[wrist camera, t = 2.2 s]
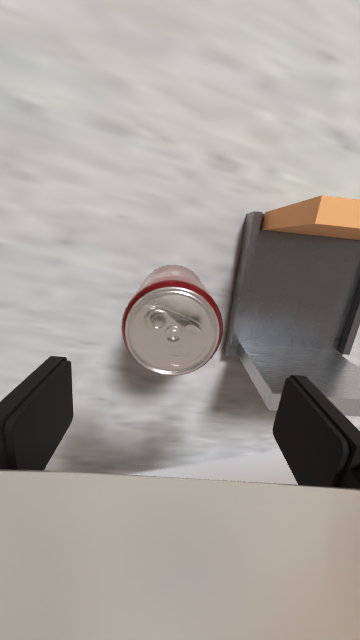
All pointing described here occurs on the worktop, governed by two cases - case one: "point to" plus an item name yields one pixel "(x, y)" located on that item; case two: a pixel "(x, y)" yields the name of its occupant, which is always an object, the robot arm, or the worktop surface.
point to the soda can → (172, 322)
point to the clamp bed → (296, 313)
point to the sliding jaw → (317, 218)
